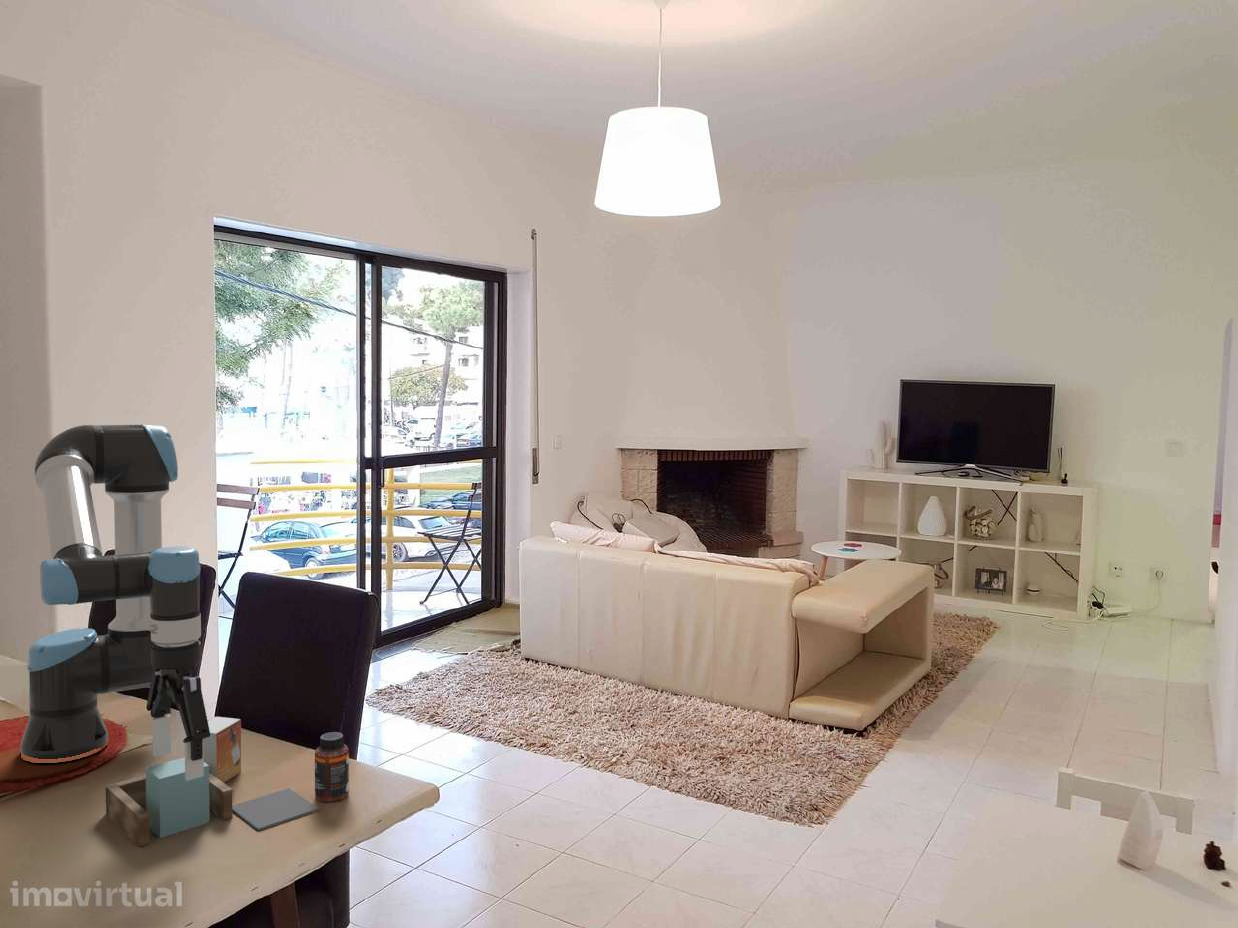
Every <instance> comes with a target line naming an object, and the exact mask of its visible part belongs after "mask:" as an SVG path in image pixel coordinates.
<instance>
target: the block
mask: <svg viewBox="0 0 1238 928" xmlns="http://www.w3.org/2000/svg"><path fill="white" fill-rule="evenodd" d="M145 775H146V807H145V811H146V812H147V813H148V814H149V830H150V831H152V832H153V831H154V832H155V833H154V832H153V833H154V834H155V835H156V836H157V837H159V838H161V837H162V838H164V837H167V836H170V835H171V836H172V835H173V834H177V833H180V832H183V830H184V831H186V830H190V829H192V828H196V827H199V826H202V825H205V824H208V823H210V809H209V765H208V764H206V763H205V762H204V776H202V777H199V778H195V779H192V780H188V781H187V780H185V756H184V757H181V758H177V759H173V760H170V761H169V760H168V761H166V762H163V763H158V764H154V765H151V766H147V767H145Z"/></svg>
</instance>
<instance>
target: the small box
mask: <svg viewBox="0 0 1238 928" xmlns="http://www.w3.org/2000/svg"><path fill="white" fill-rule="evenodd" d="M207 721H208V725H209V730H210V737H208V738H204V739H203V747H204V762H205V763H206V764H208V765H209V773H211V774H212V775H213V776H215V777H216V778H218V779H219V780H220V781H222V782H223V783H224V784H226V782H228V781H229V780H230V779H232V778H234V777H235V776H238V775H239V774H241V772H242V720H241V719H240V718H233V717H225V716H223V717H222V716H214V717H213V718H211V719H210V720H207ZM197 732H198V731H197Z"/></svg>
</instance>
